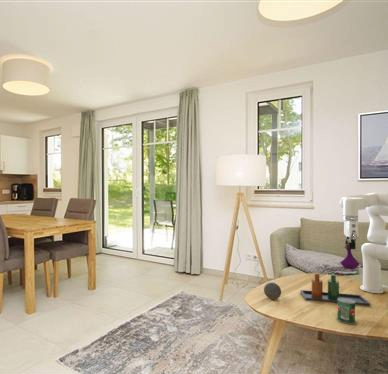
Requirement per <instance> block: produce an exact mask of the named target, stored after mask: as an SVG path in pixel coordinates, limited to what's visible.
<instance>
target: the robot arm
mask: <svg viewBox="0 0 388 374" xmlns="http://www.w3.org/2000/svg"><path fill="white" fill-rule="evenodd" d="M339 205H340V207H341V208H342V213H343V214H342V221H344V222H343V235H344V237H345V244H348V241H347V239H350V242H349V249H351V250H356V249H357V248H356V247H357V246H356V245H357V239H358V238H359V237H360V233H359V231H360V230H359V210H360V211H363V210H365V211H366V214H367V216H368V219H369V227H368V230H367V235H366V239H367V241H368V242H365V243H363V244H362V245H361V248H360V249H361V250H360V251H361V254H362V255H361V256H362V285H360V286H359V289H360V290H361V291H363V292H367V293H370V294H371V293H372V294H383V293H384V292H385V291H384V290H388V285H385V284H382V283H381V281H382V280H381V279H382V278H381V277H382V271H381V270H382V265H381V263H380V261H379V260H383V261H388V229H386V226H387V223H386V221H385V220H384V218H383V216H384V217H388V193H387V192H369V193H364V194H355V195H346V196H343V197H341V198H340V200H339ZM351 239H352V240H351ZM344 247H346V245H344Z"/></svg>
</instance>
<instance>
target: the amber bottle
mask: <svg viewBox="0 0 388 374" xmlns="http://www.w3.org/2000/svg"><path fill="white" fill-rule="evenodd" d="M323 283H324V282H323V279H320V273H319V272H315V273H314V278H311V291H312V295H311V296H312V297H313V298H319V299H322V298H323V292H324V291H323V290H324V288H323V287H324V286H323V285H324V284H323Z"/></svg>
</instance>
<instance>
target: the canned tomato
mask: <svg viewBox="0 0 388 374" xmlns="http://www.w3.org/2000/svg"><path fill="white" fill-rule="evenodd" d="M336 308H337V310H336V319H337V321H338V322H340V323H342V324H347V325H354V324H355V323H356V305H355V301H354V300H352V299H349V298H344V297H340V298H337V303H336Z"/></svg>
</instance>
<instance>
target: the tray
mask: <svg viewBox="0 0 388 374" xmlns="http://www.w3.org/2000/svg"><path fill="white" fill-rule="evenodd" d="M300 294H301V295H302V297H303V298H304V300H305V301H311V302H319V303H320V302H322V303H332V304H337V300H330V299H328V291H323V298H322V299H319V298H313V297H312V296H311V295H312V290H306V289H305V290H304V289H300ZM340 297H344V298H349V299H352V300H354V301H355V306H365V307H371V303H370V302H369V301H368V300H366V299H365V297H363V296H362V295H361V294H353V293H352V294H351V293H340V292H339V298H340Z"/></svg>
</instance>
